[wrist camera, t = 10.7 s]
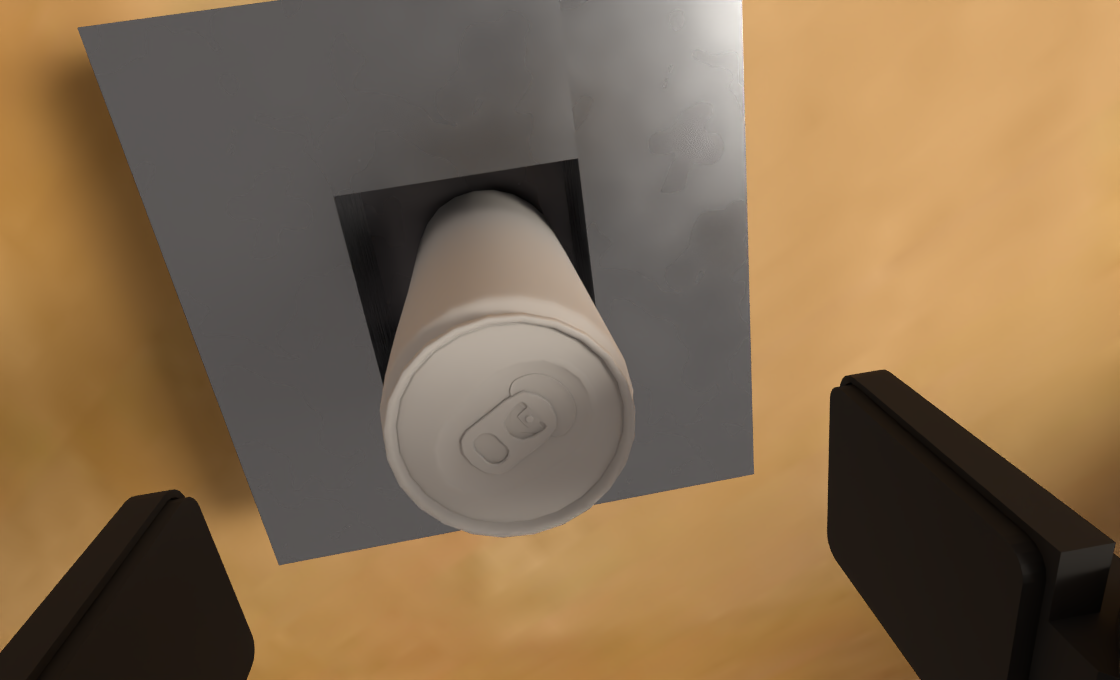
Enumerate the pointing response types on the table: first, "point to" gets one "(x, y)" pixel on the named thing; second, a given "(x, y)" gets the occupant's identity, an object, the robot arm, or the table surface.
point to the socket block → (412, 200)
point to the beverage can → (502, 376)
